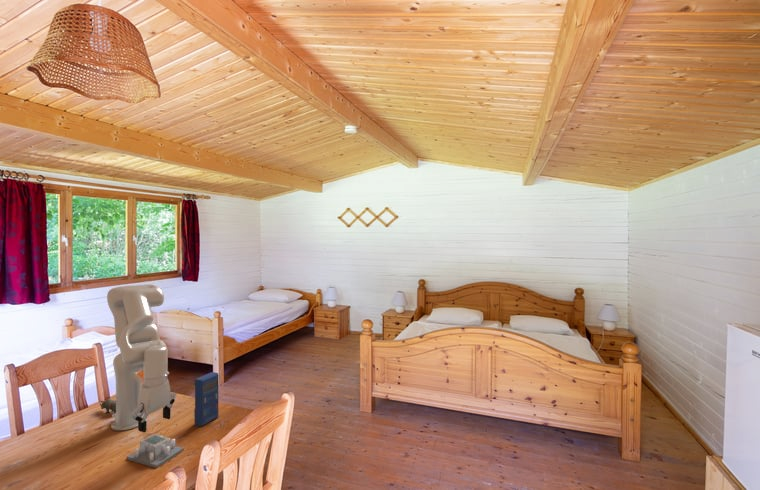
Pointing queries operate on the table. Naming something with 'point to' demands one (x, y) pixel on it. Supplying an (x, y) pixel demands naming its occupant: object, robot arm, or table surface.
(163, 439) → the drive
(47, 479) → the table surface
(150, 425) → the table surface
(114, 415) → the robot arm
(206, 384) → the electronic device
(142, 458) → the grey pegged base plate
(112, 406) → the rhino figurine
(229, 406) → the table surface
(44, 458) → the table surface
